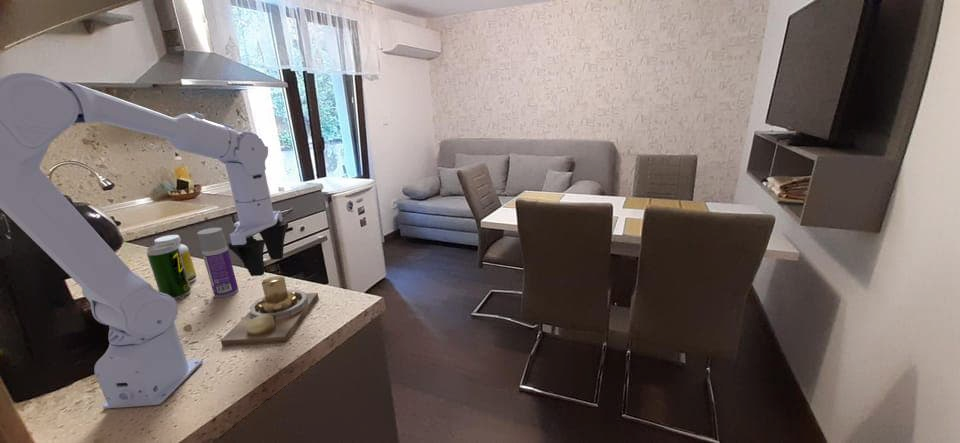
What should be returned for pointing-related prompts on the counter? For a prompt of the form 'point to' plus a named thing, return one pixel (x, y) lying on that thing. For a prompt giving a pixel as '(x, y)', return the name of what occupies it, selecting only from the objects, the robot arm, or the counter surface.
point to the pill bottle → (183, 252)
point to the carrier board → (273, 334)
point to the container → (218, 262)
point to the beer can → (168, 270)
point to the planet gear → (276, 296)
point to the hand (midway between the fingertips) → (267, 266)
